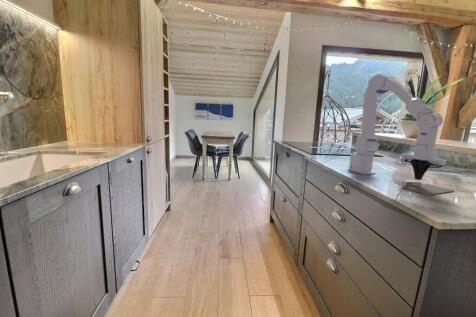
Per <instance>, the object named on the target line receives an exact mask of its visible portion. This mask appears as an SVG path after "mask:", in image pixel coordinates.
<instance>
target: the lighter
mask: <svg viewBox="0 0 476 317" xmlns="http://www.w3.org/2000/svg"><path fill="white" fill-rule="evenodd" d="M421 184H423V183H422V182H420V181H419V180H412V179H411V180H409V179H405V180H402V183H401V187H406V186H414V187H421Z"/></svg>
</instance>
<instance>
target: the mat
mask: <svg viewBox="0 0 476 317" xmlns="http://www.w3.org/2000/svg"><path fill="white" fill-rule="evenodd" d="M401 187H402V188H403V189H405V190H408V191H412V192H416V193H418V194H422V195H425V196H433V195H434V196H436V195H441V194H446V193H453V192H455V190H454V189H450V188H445V187H442V186H438V185H436V184H435V185H434V184H430V183H422V184H421V187H414V186H406V187H405V186H401Z"/></svg>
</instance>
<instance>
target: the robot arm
mask: <svg viewBox="0 0 476 317" xmlns="http://www.w3.org/2000/svg"><path fill="white" fill-rule="evenodd" d="M388 92H391V93H393V94H394V95H395V96H396V97H397V98H398V99H400V100H401V101H402V102H403V103H404V104H405V107H404V108H405V110H406V111H407V112H408V113H409V114H410V115H411V116H412V117H413V119H415V120H416V124H417V126H418V131H417V136H416V142H415V146H414V147H415V148H414V152H413V153H407V152H403V153H401V158H402V159H408V160H411V161H410V164H411V167H412V169H413V170H412V171H413V173H414V179H415V181H421V180H422V179H423V177H424V176H425V173H427V171H428V170H429V169H430V167H432V166H433V164H434V165H438V166H445V165H446V163H447V160H446V159H444V158H443V159H442V158H438V157H434V156H433V154H434V150H435V147H436V140H437V135H438V130H439V127H441V125H442V124H443V116H442V115H441V114H440V113H437V112H435V109H434V108H431V107H430V106H429V105H428V104H427V103H426V102H427V101H426V100H425V99H422V98H419V97H417V98H415V97H414V96H413V95H412V94H411V93H410V92H409V91H408V90H407V89H406V88H405V86H404V85H403V84H402V83H401V82H400V81H399V80H398V79H396V77H395V76H392V75H385V74H383V73H382V74H381V73H377V74H374V75H373V76H371V78H370V79H369V80H368V84H367V87H366V90H365V92H364V93H363V105H362V106H363V107H362V116H361V117H362V118H361V130H360V131H361V132H360V134H359V135H358V136H356V141H355V143H354V151H355V152H353V153H351V155H350V160H349V166H348V168H347V171H350V172H353V173H357V174H360V175H373V174H376V172H374V171H372V169H373V164H374V159H375V158H374V157H375V153H376V152H377V151H379V147H380V146H379V145H380V144H379V143H378V136H377V135H376V122H377V121H376V120H377V109H378V99H379V98H380V97H382V95H384V94H386V93H388Z"/></svg>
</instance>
